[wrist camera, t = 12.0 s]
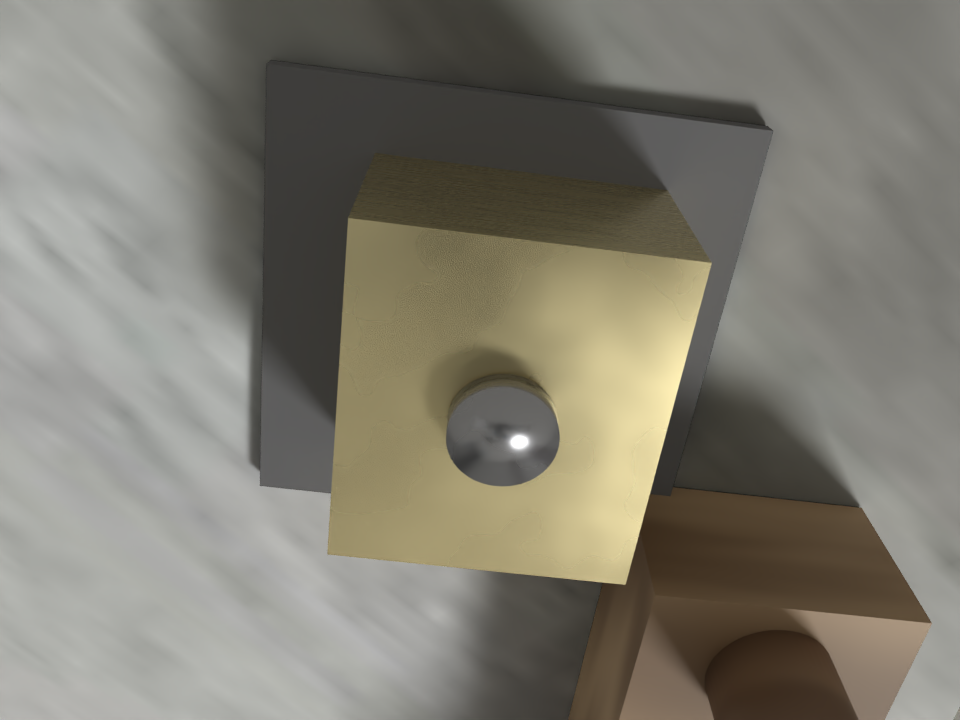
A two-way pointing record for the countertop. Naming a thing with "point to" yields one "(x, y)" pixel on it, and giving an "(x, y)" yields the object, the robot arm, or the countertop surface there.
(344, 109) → the mat
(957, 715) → the robot arm
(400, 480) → the yellow block with knob
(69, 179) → the countertop surface
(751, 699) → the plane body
